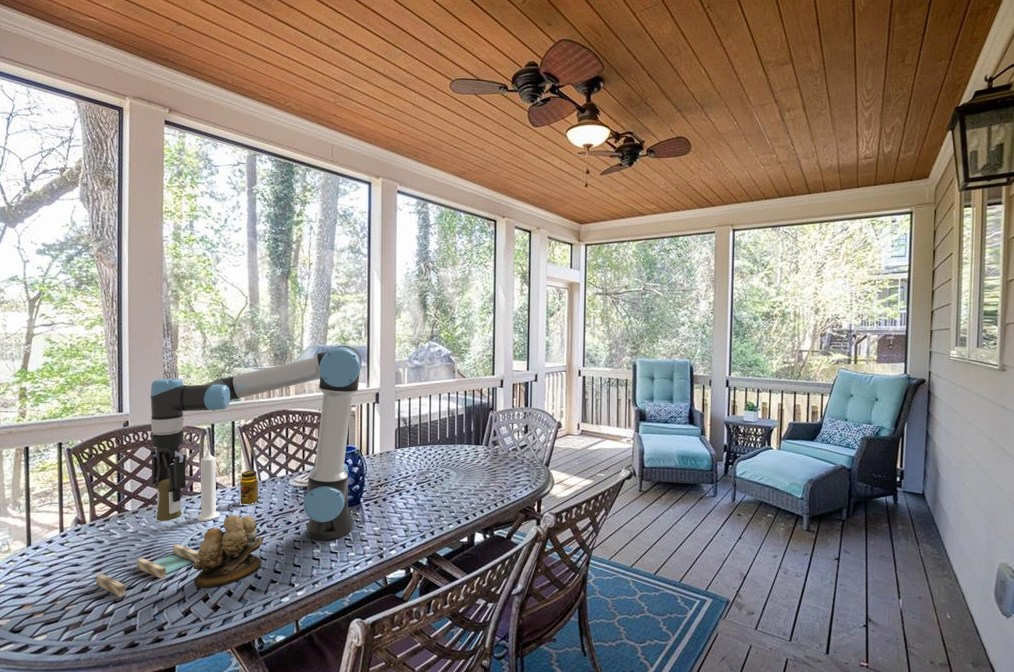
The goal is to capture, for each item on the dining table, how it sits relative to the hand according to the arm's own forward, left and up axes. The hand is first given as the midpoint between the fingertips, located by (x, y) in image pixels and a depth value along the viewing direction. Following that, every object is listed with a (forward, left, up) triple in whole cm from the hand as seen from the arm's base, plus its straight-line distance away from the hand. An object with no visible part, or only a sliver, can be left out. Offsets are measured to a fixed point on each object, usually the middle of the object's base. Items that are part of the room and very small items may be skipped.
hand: (169, 509), depth 139 cm
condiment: (+24, -43, -17) cm, 52 cm away
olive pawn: (0, 0, -2) cm, 2 cm away
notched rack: (0, 0, -16) cm, 16 cm away
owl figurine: (-20, -6, -17) cm, 27 cm away
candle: (+23, -26, -17) cm, 38 cm away
